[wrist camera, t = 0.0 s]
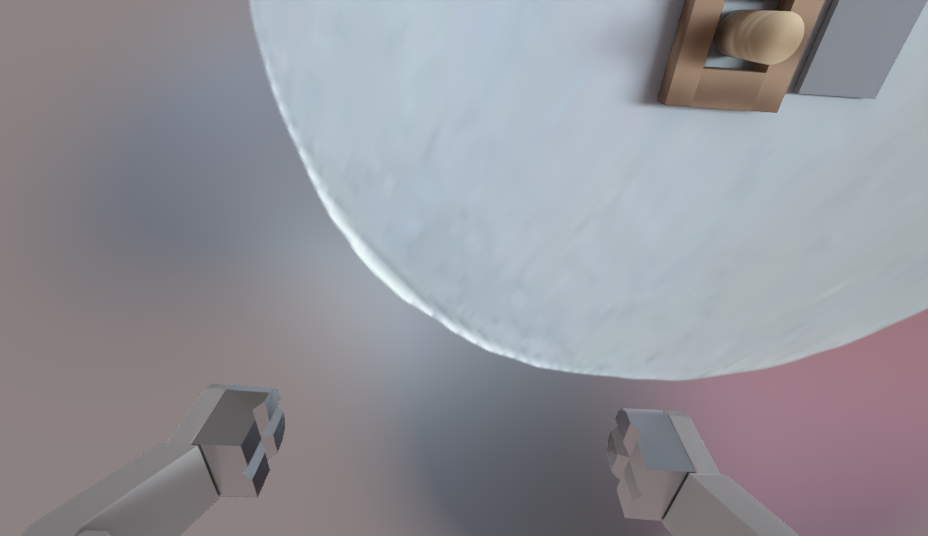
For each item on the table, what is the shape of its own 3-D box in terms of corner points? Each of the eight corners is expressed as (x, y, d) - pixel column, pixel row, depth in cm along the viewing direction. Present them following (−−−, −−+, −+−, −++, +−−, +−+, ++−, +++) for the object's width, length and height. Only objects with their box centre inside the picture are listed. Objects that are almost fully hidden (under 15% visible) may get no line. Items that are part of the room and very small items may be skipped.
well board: (700, -56, 44) (712, -59, 42) (827, -46, 44) (845, -48, 42) (657, 100, 52) (664, 104, 50) (764, 108, 52) (777, 112, 50)
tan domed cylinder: (722, 8, 47) (765, 9, 40) (764, 11, 47) (813, 13, 40) (707, 54, 49) (745, 63, 42) (747, 57, 49) (790, 66, 42)
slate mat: (851, -44, 44) (859, -45, 43) (938, -38, 44) (947, -39, 43) (792, 91, 51) (798, 93, 50) (868, 97, 51) (875, 98, 50)
